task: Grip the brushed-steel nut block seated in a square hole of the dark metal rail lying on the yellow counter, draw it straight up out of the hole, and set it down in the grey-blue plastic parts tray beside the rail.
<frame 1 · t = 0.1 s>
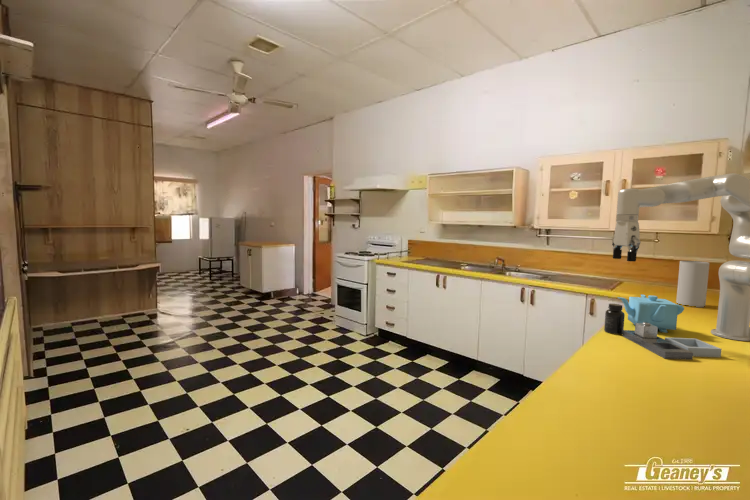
hand: (623, 259, 148), 31 cm above the countertop, tool pointing down, fingers open, 9 cm apart
rail: (654, 346, 134), on the countertop
supplement bottle: (613, 332, 151), on the countertop
cylinder vase: (690, 305, 203), on the countertop
parts tray: (691, 350, 130), on the countertop
nut block: (645, 342, 139), resting in rail
teakettle: (647, 328, 158), on the countertop
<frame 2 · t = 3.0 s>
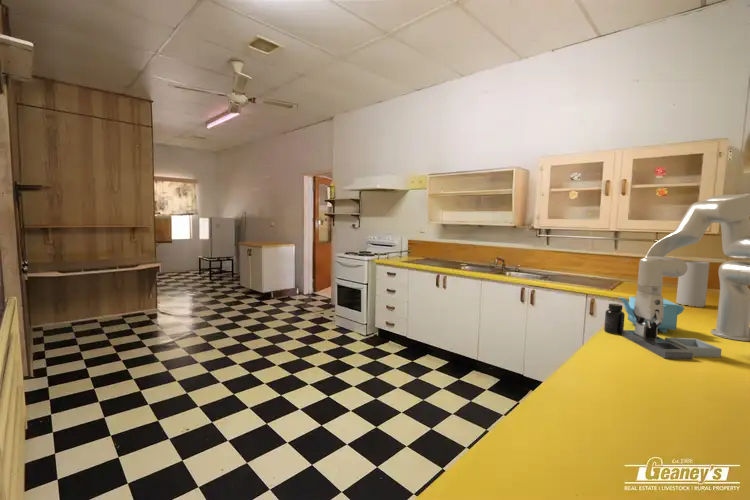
hand: (645, 334, 139), 3 cm above the countertop, tool pointing down, fingers closed on nut block, 5 cm apart
nut block: (645, 342, 139), resting in rail, touching gripper
everything else where it was.
when the fingers open (5 cm above the countertop, at t = 9.1 s): nut block drops 1 cm, resting on parts tray.
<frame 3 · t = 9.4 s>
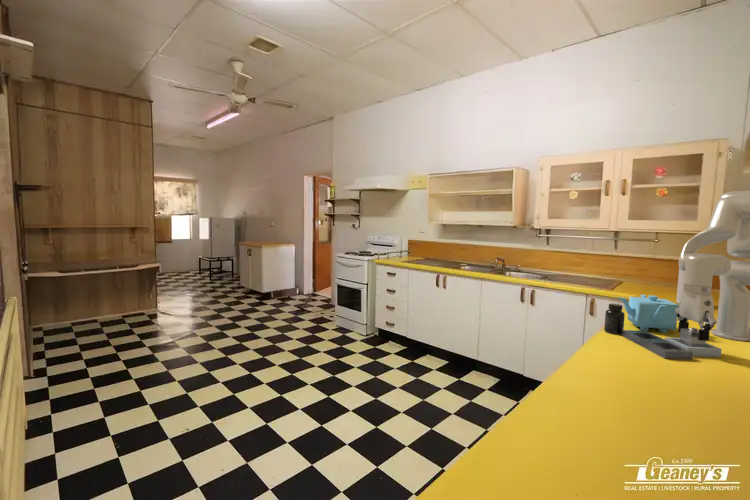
hand: (692, 336, 130), 6 cm above the countertop, tool pointing down, fingers open, 8 cm apart
nut block: (691, 349, 130), point 1 cm above the countertop, touching parts tray
everything else where it was.
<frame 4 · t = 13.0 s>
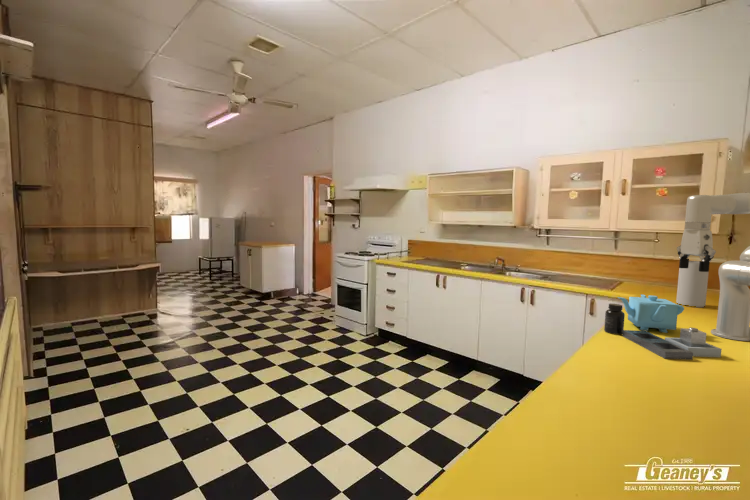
hand: (693, 269, 141), 28 cm above the countertop, tool pointing down, fingers open, 9 cm apart
nothing on the countertop moved.
at the end: nut block inside the target area on the parts tray (0.1 cm from its centre), point 0.6 cm above the parts tray's base; nut block tilted 0°; the gripper is holding nothing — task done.
